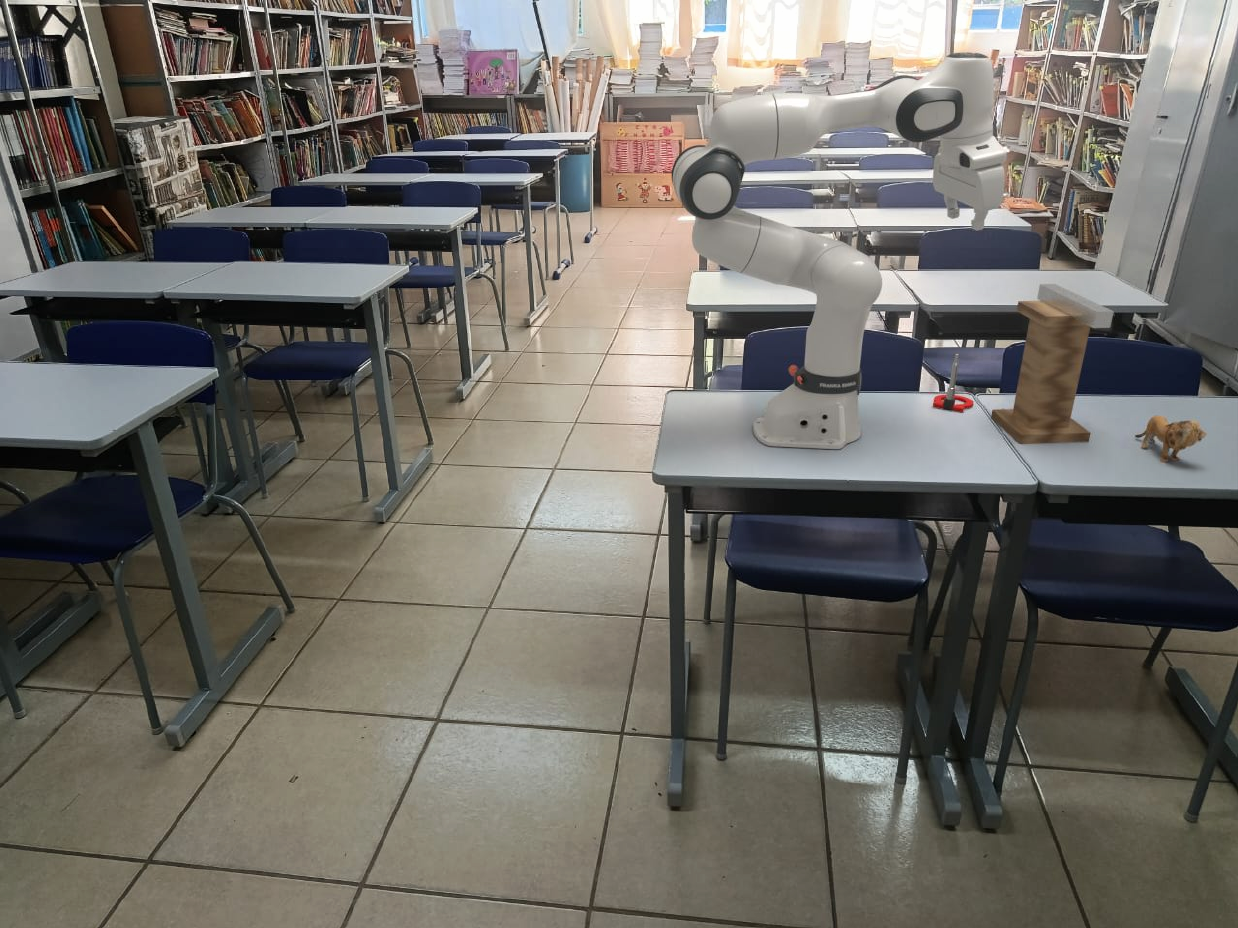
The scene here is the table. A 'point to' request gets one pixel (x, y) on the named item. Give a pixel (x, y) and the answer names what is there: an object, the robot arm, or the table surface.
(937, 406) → the tow hook
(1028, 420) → the walnut stand
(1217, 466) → the table surface
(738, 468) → the table surface
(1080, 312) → the metal block
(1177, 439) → the lion figurine
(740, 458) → the table surface
